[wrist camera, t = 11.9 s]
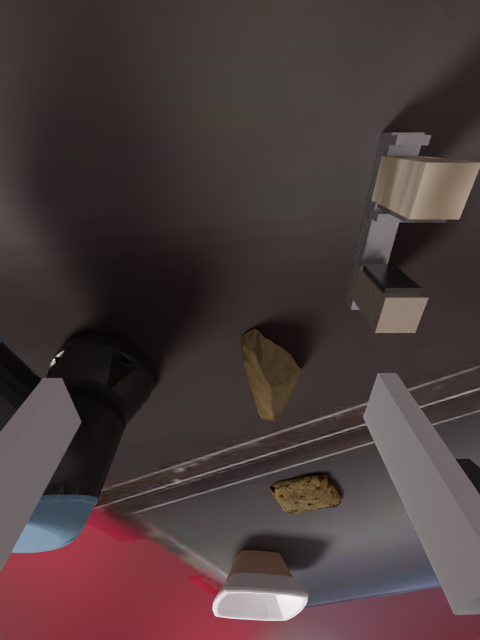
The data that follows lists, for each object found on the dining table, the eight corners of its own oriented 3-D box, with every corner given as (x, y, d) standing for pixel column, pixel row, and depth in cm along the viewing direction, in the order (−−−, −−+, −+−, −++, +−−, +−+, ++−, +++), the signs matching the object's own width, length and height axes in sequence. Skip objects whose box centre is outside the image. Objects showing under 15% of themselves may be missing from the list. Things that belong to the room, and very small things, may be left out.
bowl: (221, 538, 79) (219, 589, 70) (308, 545, 81) (316, 596, 72) (211, 570, 92) (208, 617, 83) (286, 576, 94) (291, 622, 85)
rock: (220, 339, 40) (233, 396, 44) (259, 362, 33) (269, 427, 37) (278, 312, 45) (285, 365, 49) (321, 326, 38) (325, 387, 43)
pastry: (287, 462, 60) (289, 476, 58) (358, 479, 64) (363, 493, 61) (255, 501, 69) (256, 515, 67) (319, 514, 72) (322, 528, 70)
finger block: (370, 205, 30) (407, 225, 23) (381, 156, 28) (426, 162, 21) (408, 205, 30) (456, 225, 23) (423, 156, 28) (481, 162, 21)
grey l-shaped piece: (371, 300, 39) (408, 348, 30) (341, 300, 39) (370, 348, 30) (416, 132, 29) (493, 131, 20) (376, 132, 29) (435, 131, 20)
